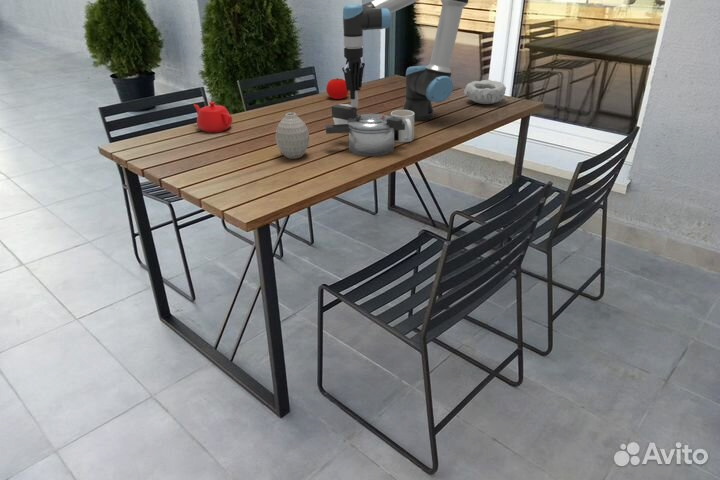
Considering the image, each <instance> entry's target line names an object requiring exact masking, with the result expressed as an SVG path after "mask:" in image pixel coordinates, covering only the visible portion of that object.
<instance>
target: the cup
mask: <svg viewBox="0 0 720 480" xmlns="http://www.w3.org/2000/svg"><path fill="white" fill-rule="evenodd" d="M339 105H342V106H348V107H352V106H351V104H347V103H345V104H339ZM332 119H333V122H334V124H333V125H337V124H347V120H344V119H338V118H333V117H332Z"/></svg>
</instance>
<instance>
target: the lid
mask: <svg viewBox="0 0 720 480" xmlns="http://www.w3.org/2000/svg"><path fill="white" fill-rule="evenodd" d="M357 108H358V107H348V106H342V105H340V104H334V105H331V117H332V119H333V118H338V119H344V120H347V124H348V126H349V127H351V128H353V129H357V130H365V131H376V130H384V129H388V128H395V129H399V128H401V127H402V119H398V118H393V117H391V115H387V114H383V113H382V114H381V113H362V114H357V113H358V112H357Z"/></svg>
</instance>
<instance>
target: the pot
mask: <svg viewBox="0 0 720 480" xmlns="http://www.w3.org/2000/svg"><path fill="white" fill-rule="evenodd" d="M394 130H405V123H404V122H403V121H402V127H401V128H399V129H395V128H388V129H384V130H376V131H365V130H357V129H353V128H351V127H349V126H348V124H337V125H335V124H325V134H327V135H329V134H330V135H331V134H348V149H349V152H350V153H352V154H353V155H357V156H363V157H379V156H380V157H381V156H385V155H388V154H390V153H392V152H394V150H395V142H394Z"/></svg>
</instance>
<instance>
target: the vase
mask: <svg viewBox="0 0 720 480" xmlns="http://www.w3.org/2000/svg"><path fill="white" fill-rule="evenodd" d="M275 143H276V145H277V148H278V150H279V151H280V152H281V154H282V155H283V156H284V157H286V158H288V159H291V160H292V159H294V160H295V159H299V158H302V157H303V156H304V155H305V153H306V151H307V150H308V147H309V144H310V132H309V129H308V127H307V125H306V123H305V122H304V121H303V120H302V119H301V118H300V117H299V116H298V115H297V113H296V112H287V113H285V114H284V117H283V118H282V119H281V120H280V121H279V122H278V125H277V127H276V130H275Z"/></svg>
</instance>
